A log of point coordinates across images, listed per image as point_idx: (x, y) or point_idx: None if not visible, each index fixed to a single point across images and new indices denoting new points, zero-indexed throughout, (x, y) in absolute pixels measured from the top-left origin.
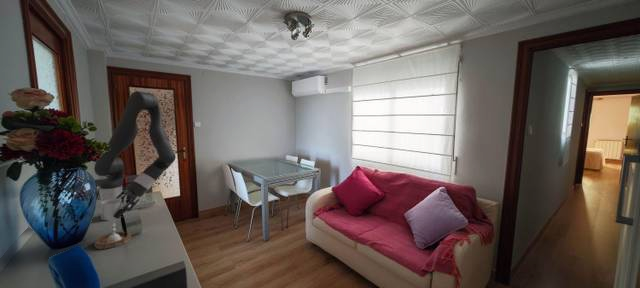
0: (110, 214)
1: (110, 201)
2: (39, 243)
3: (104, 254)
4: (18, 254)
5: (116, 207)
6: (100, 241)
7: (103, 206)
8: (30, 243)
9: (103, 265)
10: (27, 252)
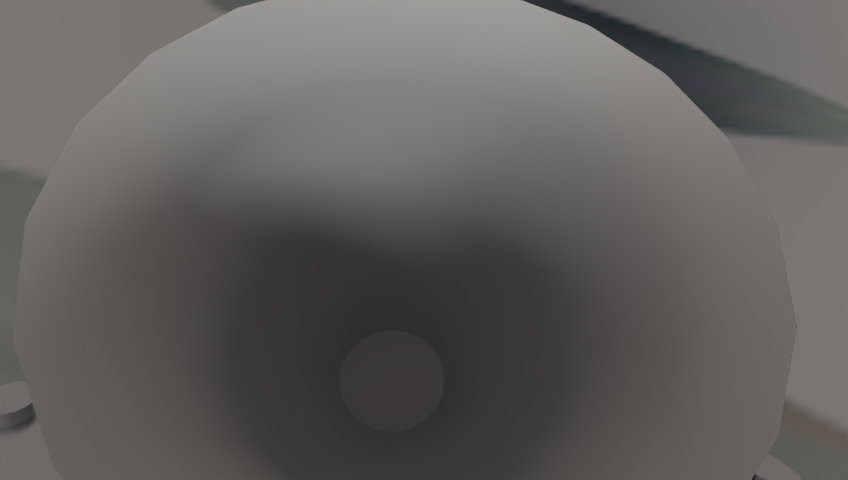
0: (282, 257)
1: (677, 316)
2: (792, 135)
3: None
4: (683, 44)
5: (176, 309)
6: None
7: (446, 106)
8: (829, 114)
9: (22, 188)
10: (679, 69)
